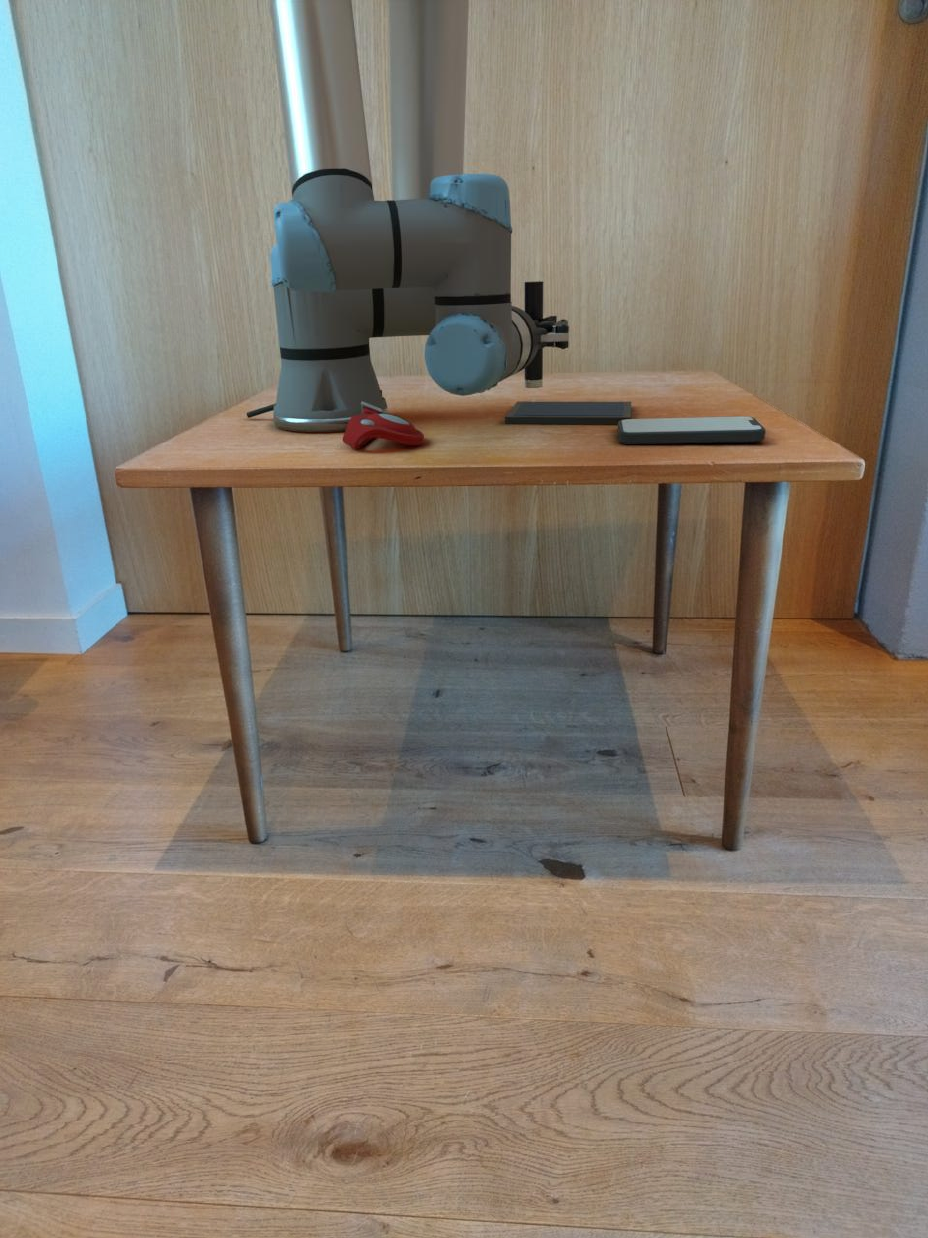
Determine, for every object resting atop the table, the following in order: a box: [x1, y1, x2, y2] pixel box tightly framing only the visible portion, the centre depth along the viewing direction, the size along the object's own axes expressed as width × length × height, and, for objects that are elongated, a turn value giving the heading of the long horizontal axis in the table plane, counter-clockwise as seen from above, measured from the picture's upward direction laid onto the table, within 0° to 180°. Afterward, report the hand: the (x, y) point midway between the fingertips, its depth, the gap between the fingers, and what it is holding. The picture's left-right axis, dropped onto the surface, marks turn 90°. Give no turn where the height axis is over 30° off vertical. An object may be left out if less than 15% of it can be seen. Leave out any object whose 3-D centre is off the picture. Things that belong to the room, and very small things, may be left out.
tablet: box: [504, 400, 632, 426], centre depth 110 cm, size 16×12×1 cm
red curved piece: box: [342, 402, 425, 450], centre depth 97 cm, size 12×4×10 cm
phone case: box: [617, 415, 767, 445], centre depth 95 cm, size 9×2×16 cm
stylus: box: [524, 280, 544, 389], centre depth 107 cm, size 2×2×13 cm
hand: (542, 326), depth 111 cm, fingers closed on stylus, 2 cm apart
